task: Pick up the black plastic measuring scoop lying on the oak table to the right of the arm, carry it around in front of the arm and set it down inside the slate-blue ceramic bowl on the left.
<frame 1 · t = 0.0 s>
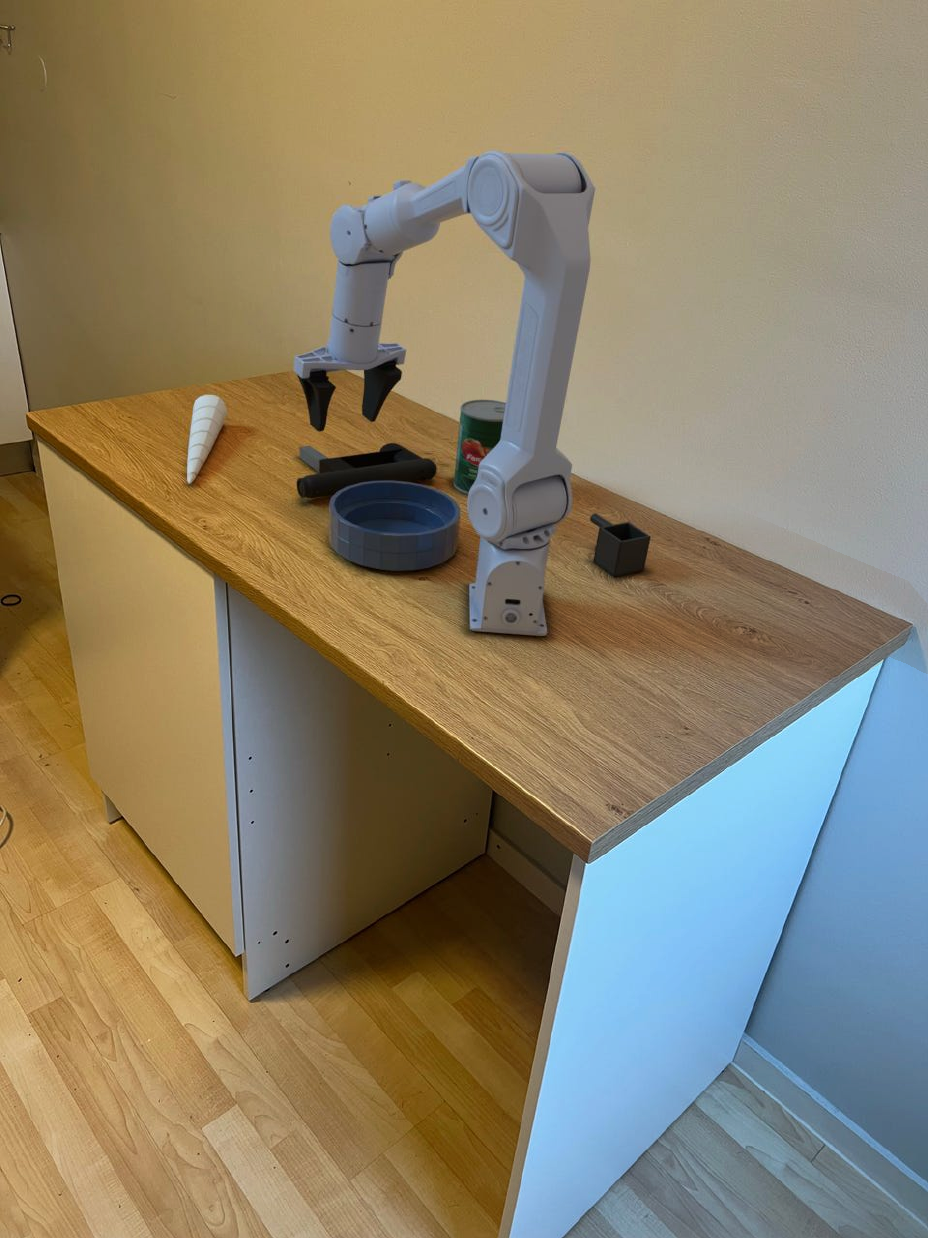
hand: (343, 422, 115), 11 cm above the worktop, tool pointing down, fingers open, 7 cm apart
door handle: (351, 476, 128), on the worktop
canned tomato: (481, 487, 129), on the worktop
unicorn horn: (204, 452, 131), on the worktop
scoop: (618, 566, 112), on the worktop
bowl: (393, 544, 111), on the worktop
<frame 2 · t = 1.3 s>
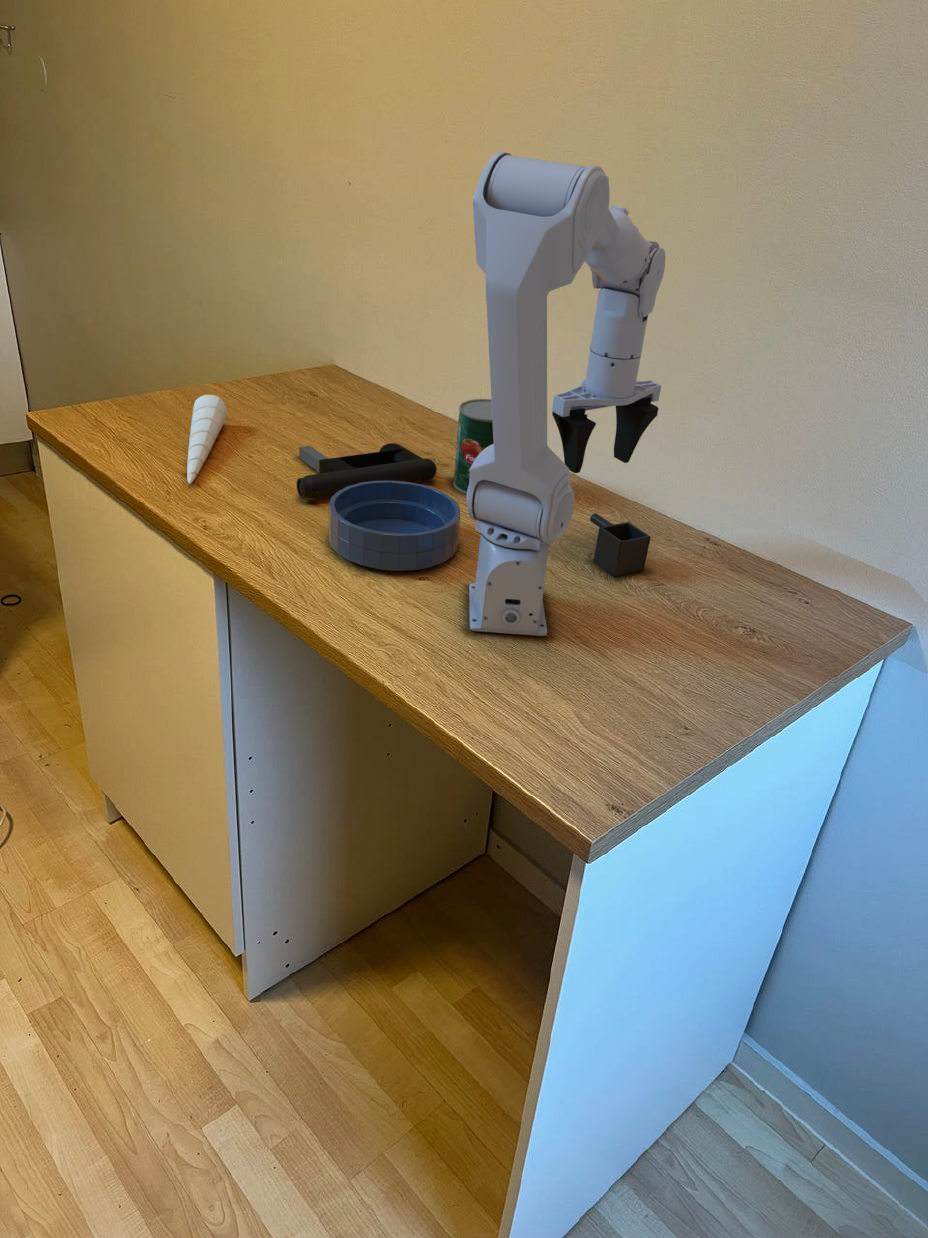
hand: (597, 464, 111), 10 cm above the worktop, tool pointing down, fingers open, 7 cm apart
nothing on the worktop moved.
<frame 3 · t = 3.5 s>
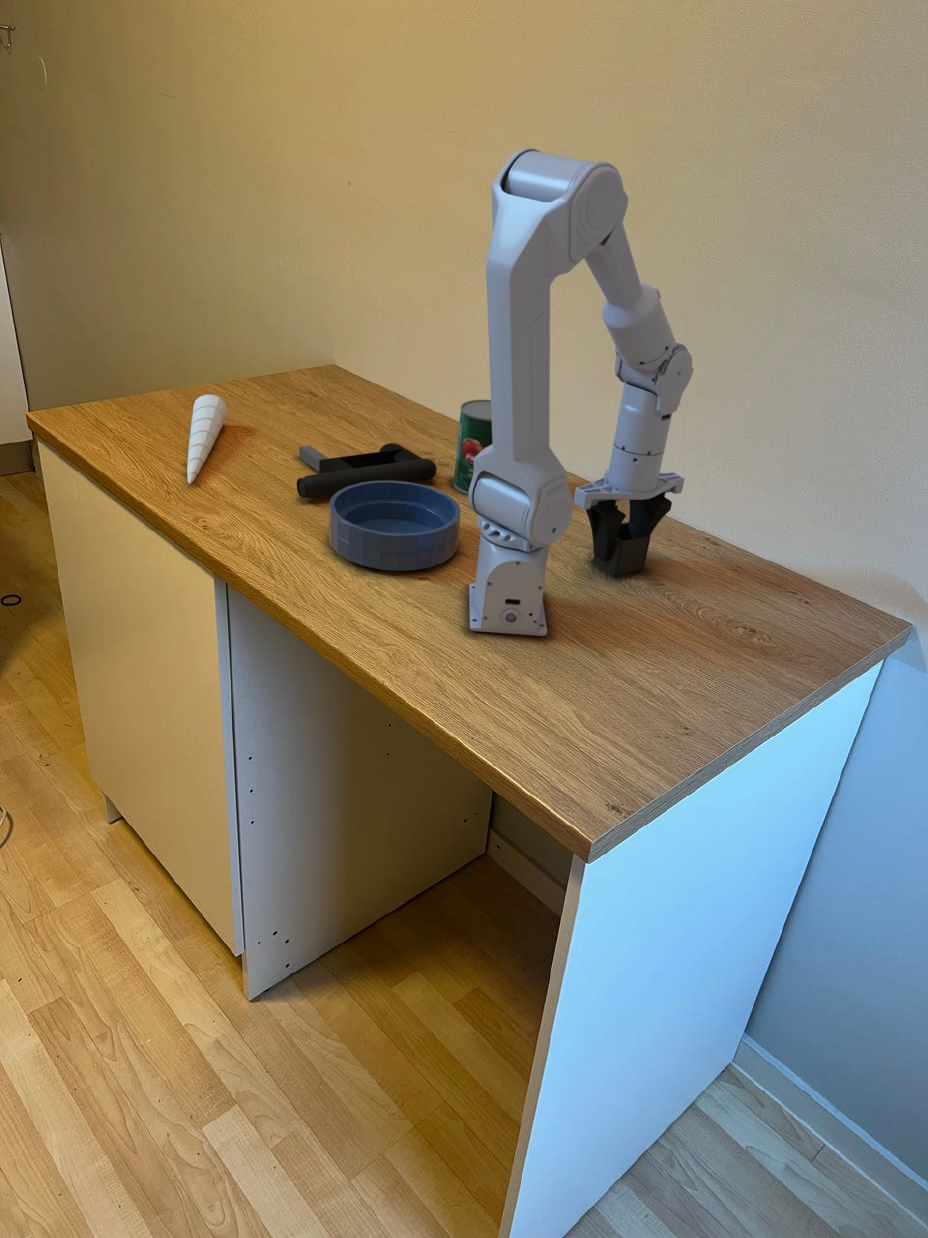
hand: (617, 554, 111), 1 cm above the worktop, tool pointing down, fingers closed on scoop, 4 cm apart
scoop: (617, 566, 111), on the worktop, touching gripper
everything else where it was.
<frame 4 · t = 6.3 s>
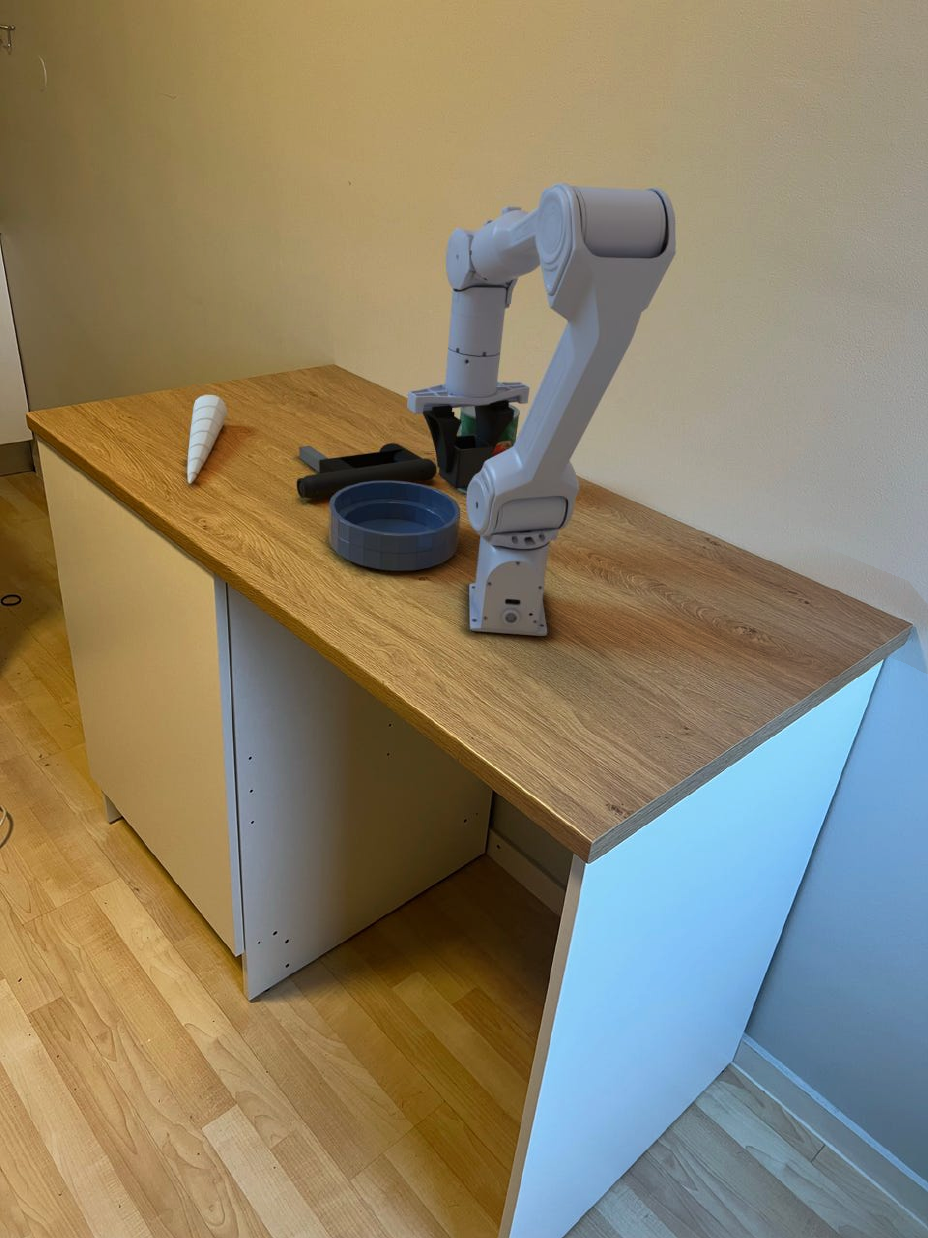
hand: (463, 466, 108), 10 cm above the worktop, tool pointing down, fingers closed on scoop, 4 cm apart
scoop: (463, 479, 108), point 8 cm above the worktop, touching gripper
everything else where it was.
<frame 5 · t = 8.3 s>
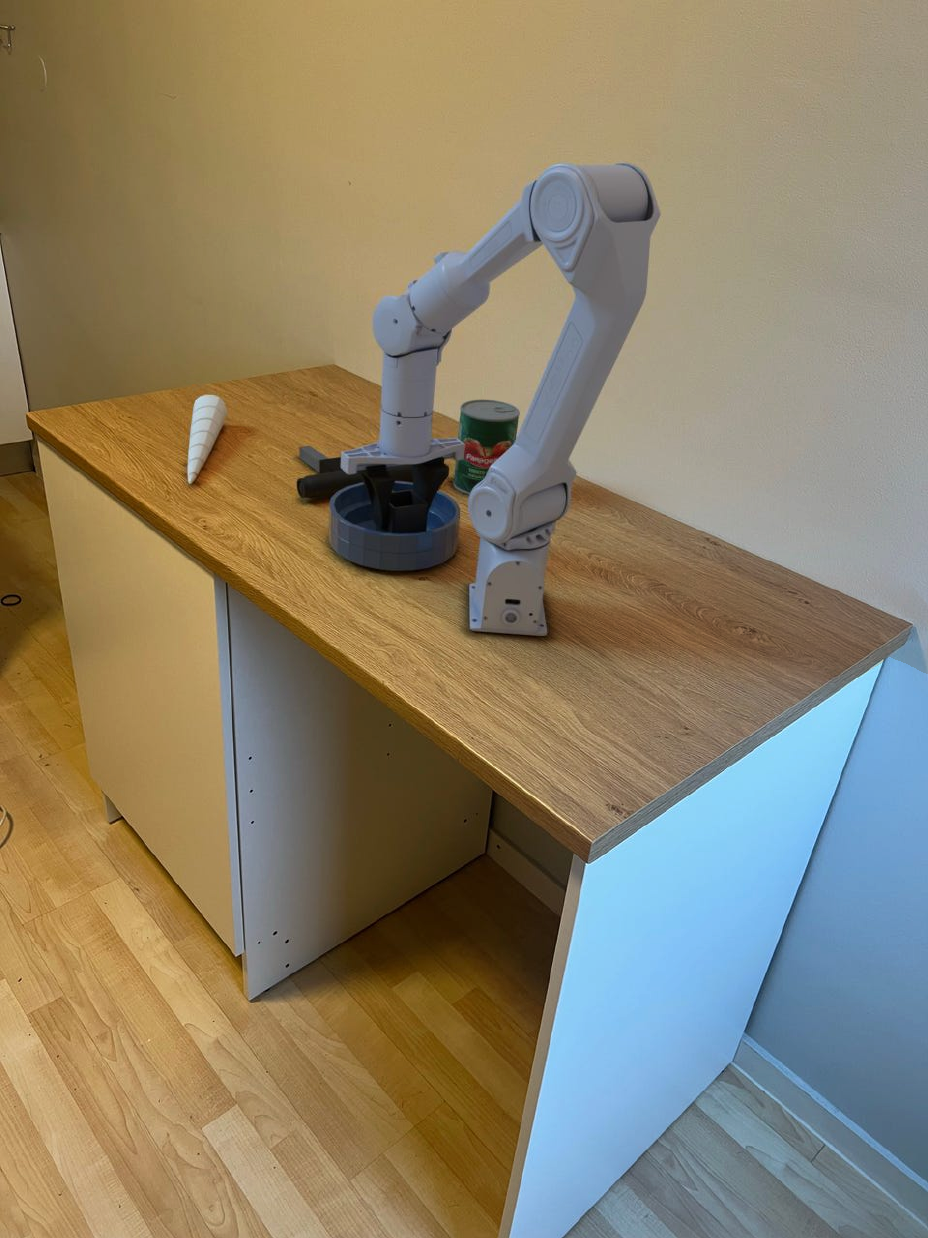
hand: (400, 522, 108), 4 cm above the worktop, tool pointing down, fingers closed on scoop, 4 cm apart
scoop: (400, 534, 109), point 2 cm above the worktop, touching gripper
everything else where it was.
when the fingers open (2 cm above the worktop, at t = 9.3 s): scoop stays where it is, resting on bowl.
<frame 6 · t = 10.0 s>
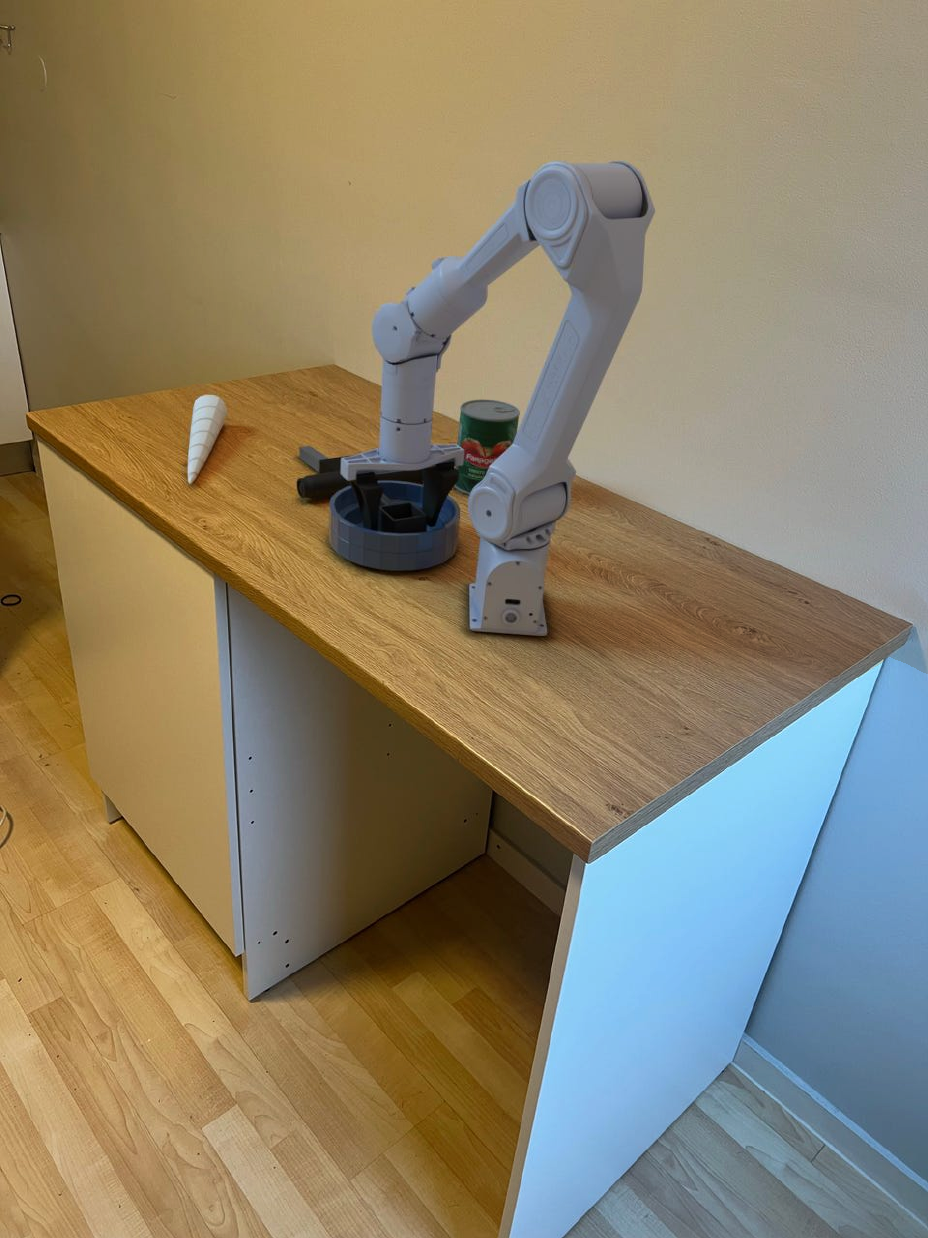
hand: (399, 528, 109), 3 cm above the worktop, tool pointing down, fingers open, 7 cm apart
scoop: (400, 546, 109), point 1 cm above the worktop, touching bowl
everything else where it was.
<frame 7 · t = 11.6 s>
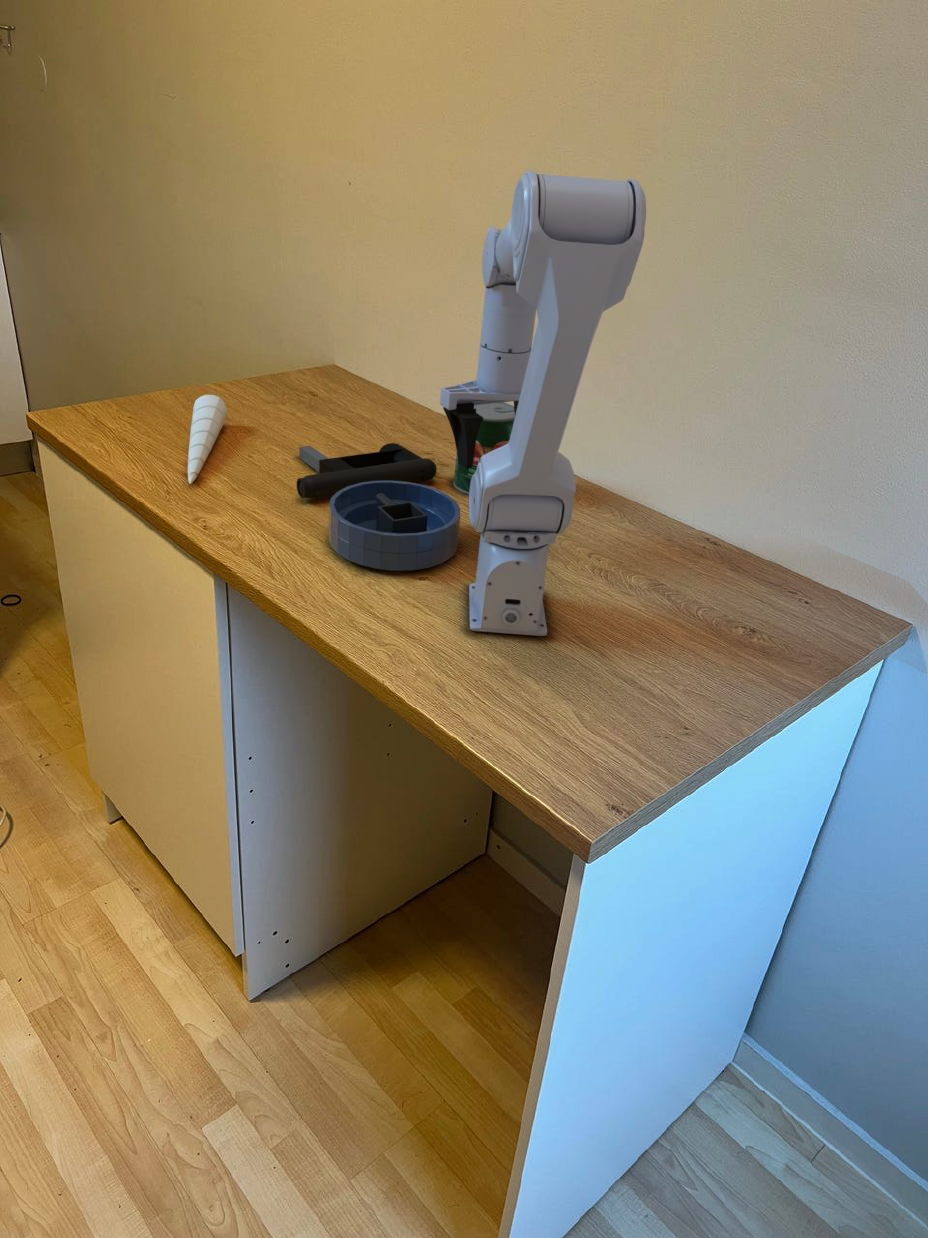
hand: (492, 461, 110), 10 cm above the worktop, tool pointing down, fingers open, 7 cm apart
nothing on the worktop moved.
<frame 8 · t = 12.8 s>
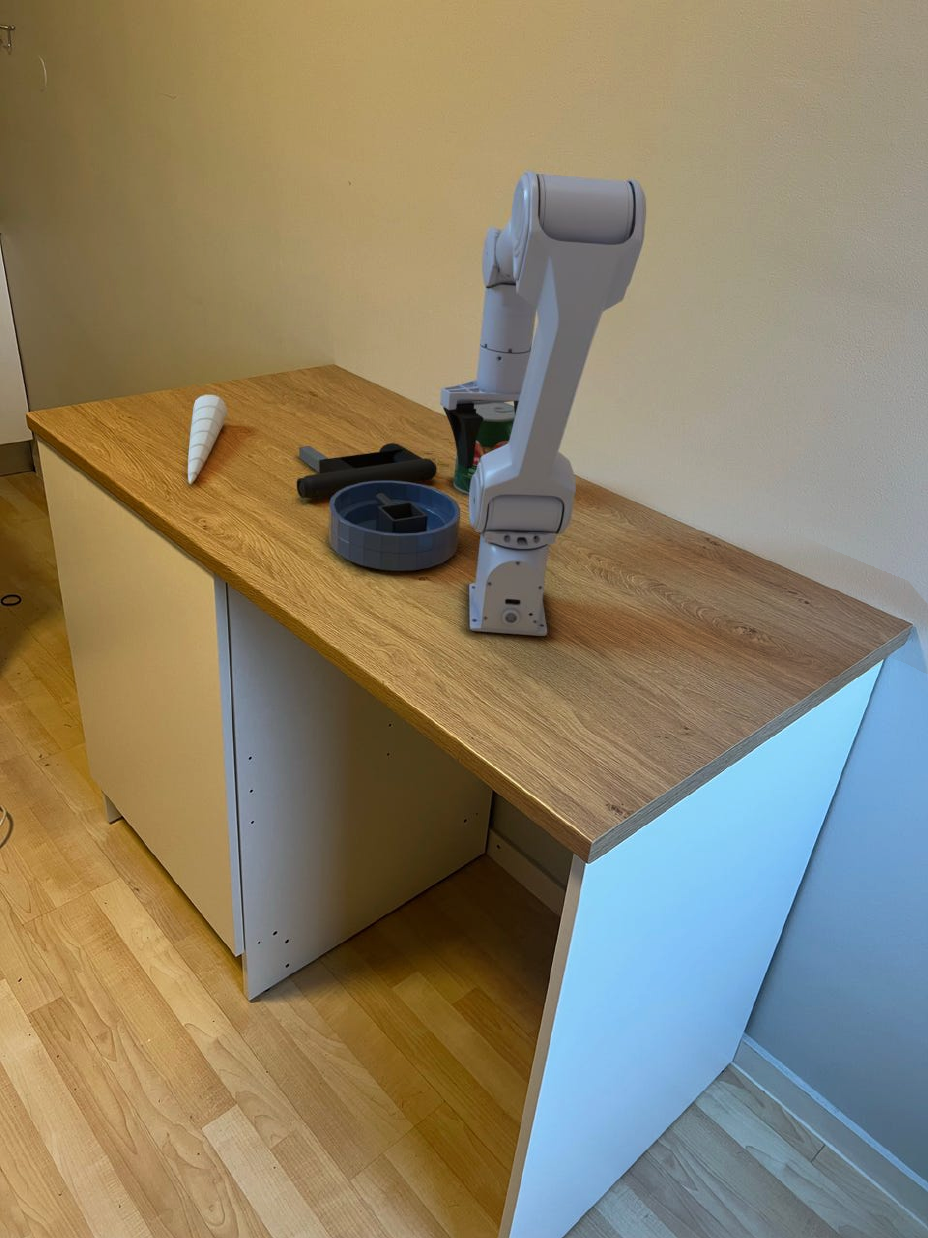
hand: (492, 461, 110), 10 cm above the worktop, tool pointing down, fingers open, 7 cm apart
nothing on the worktop moved.
at the end: scoop inside the target area in the bowl (1.8 cm from its centre), point 0.6 cm above the bowl's base; the gripper is holding nothing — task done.
